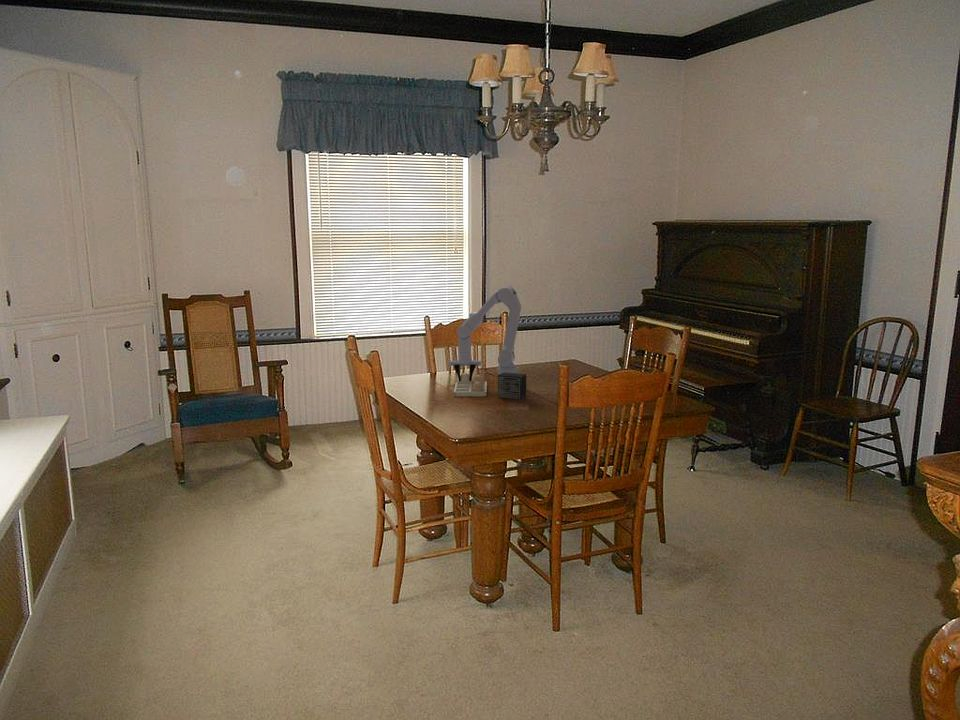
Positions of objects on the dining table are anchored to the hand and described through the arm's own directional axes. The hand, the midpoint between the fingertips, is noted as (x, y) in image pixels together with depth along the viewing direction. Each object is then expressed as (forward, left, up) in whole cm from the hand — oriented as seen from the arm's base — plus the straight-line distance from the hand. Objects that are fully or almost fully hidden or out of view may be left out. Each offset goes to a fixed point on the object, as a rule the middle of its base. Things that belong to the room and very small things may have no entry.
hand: (465, 381), depth 322 cm
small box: (-21, +27, -2) cm, 34 cm away
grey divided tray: (-3, +16, -1) cm, 16 cm away
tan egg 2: (-6, +22, 0) cm, 23 cm away
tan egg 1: (-6, +10, 0) cm, 11 cm away
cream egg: (0, 0, -1) cm, 1 cm away
